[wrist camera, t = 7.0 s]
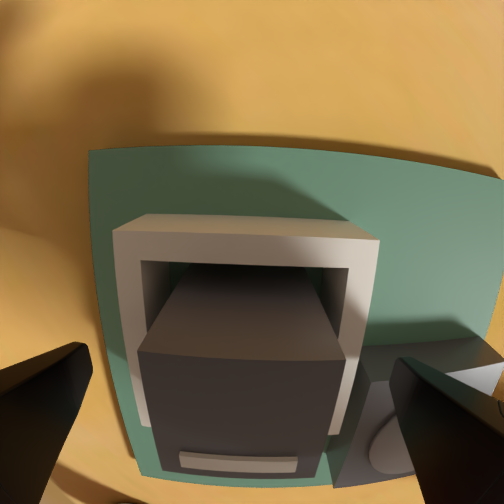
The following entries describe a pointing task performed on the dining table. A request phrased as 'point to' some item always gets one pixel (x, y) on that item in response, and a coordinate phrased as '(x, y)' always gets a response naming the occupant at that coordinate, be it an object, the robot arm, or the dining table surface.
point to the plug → (241, 373)
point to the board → (311, 207)
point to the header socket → (246, 253)
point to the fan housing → (383, 412)
